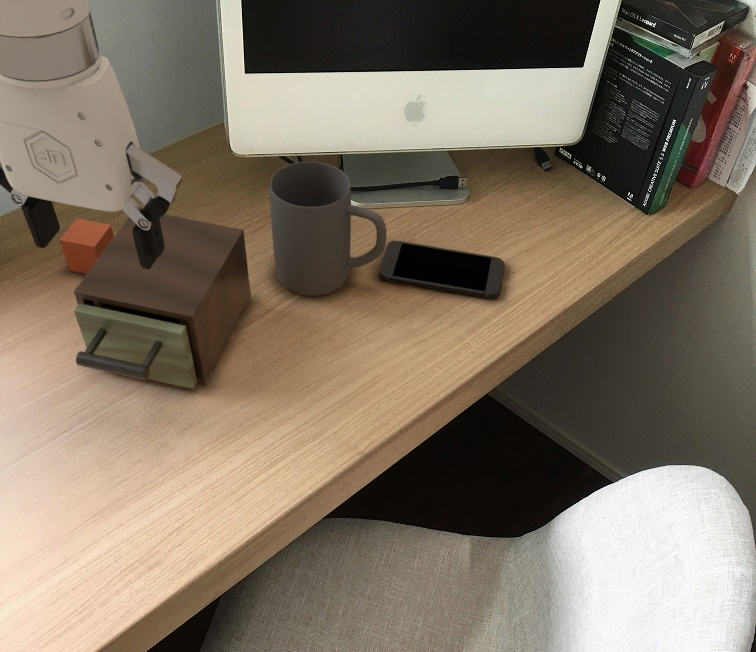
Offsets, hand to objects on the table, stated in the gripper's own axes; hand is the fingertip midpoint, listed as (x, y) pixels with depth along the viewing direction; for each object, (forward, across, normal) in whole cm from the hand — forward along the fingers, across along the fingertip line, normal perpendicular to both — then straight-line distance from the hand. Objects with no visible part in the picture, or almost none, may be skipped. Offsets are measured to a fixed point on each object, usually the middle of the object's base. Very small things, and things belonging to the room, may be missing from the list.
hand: (100, 248), depth 68 cm
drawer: (+17, 0, +6) cm, 18 cm away
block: (+18, -14, +18) cm, 30 cm away
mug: (+18, +14, +24) cm, 34 cm away
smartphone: (+18, +27, +29) cm, 44 cm away
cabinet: (+18, 0, +10) cm, 21 cm away
